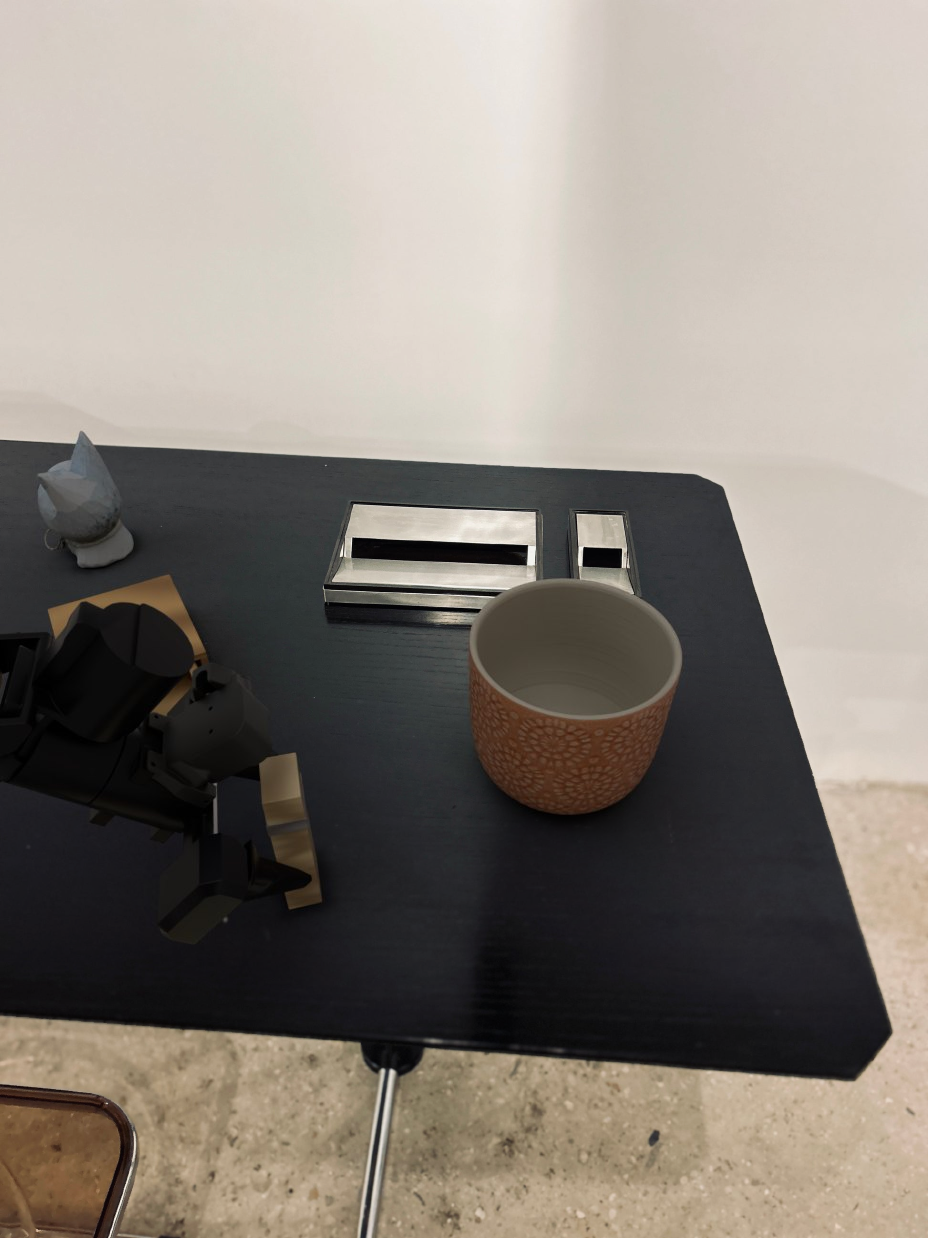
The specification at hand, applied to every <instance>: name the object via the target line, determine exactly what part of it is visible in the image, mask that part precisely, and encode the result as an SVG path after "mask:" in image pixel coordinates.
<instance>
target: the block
mask: <svg viewBox="0 0 928 1238" xmlns="http://www.w3.org/2000/svg"><path fill="white" fill-rule="evenodd" d="M278 755H279V756H273V757H268V758H266V759H265V760H264V761H263V762H261V763H260V764H259V771H260V781H259V782H260V799H261V806H262V810H263V813H264V819H265V829H266V832H267V836H268V837H270V841H271V846H272V849H273V853H274V857H275V861H276V862H279V863H282V864H285V865H288V866H292V867H295V868H297V869H300V870H302V871H304V872H306V873H308V874H310V875H311V876H312V881H311V882H310V883H309V884H308V885H307V886H306V887H304V888H302V889H297V890H293V891H289V892H284V895H285V900H286V903H287V907H288V910H293V909H297V908H302V907H306V906H311V905H316V904H320V903H322V902H323V896H322V888H321V881H320V874H319V873H320V872H319V866H318V857H317V852H316V847H315V843H314V838H313V833H312V827H311V822H310V818H309V812H308V807H307V803H306V795H305V787H304V786H305V785H304V779H303V775H302V772H300V767H299V763H298V757H297V753H296V752H290V753H284V754H278Z"/></svg>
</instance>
